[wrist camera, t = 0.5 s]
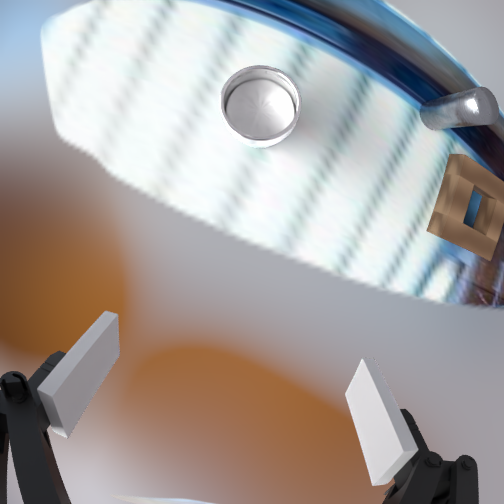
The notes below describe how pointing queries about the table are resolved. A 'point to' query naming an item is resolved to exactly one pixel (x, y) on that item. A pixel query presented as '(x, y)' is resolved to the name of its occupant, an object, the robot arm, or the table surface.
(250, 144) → the beer glass
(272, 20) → the table surface
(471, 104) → the steel peg
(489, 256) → the socket block
